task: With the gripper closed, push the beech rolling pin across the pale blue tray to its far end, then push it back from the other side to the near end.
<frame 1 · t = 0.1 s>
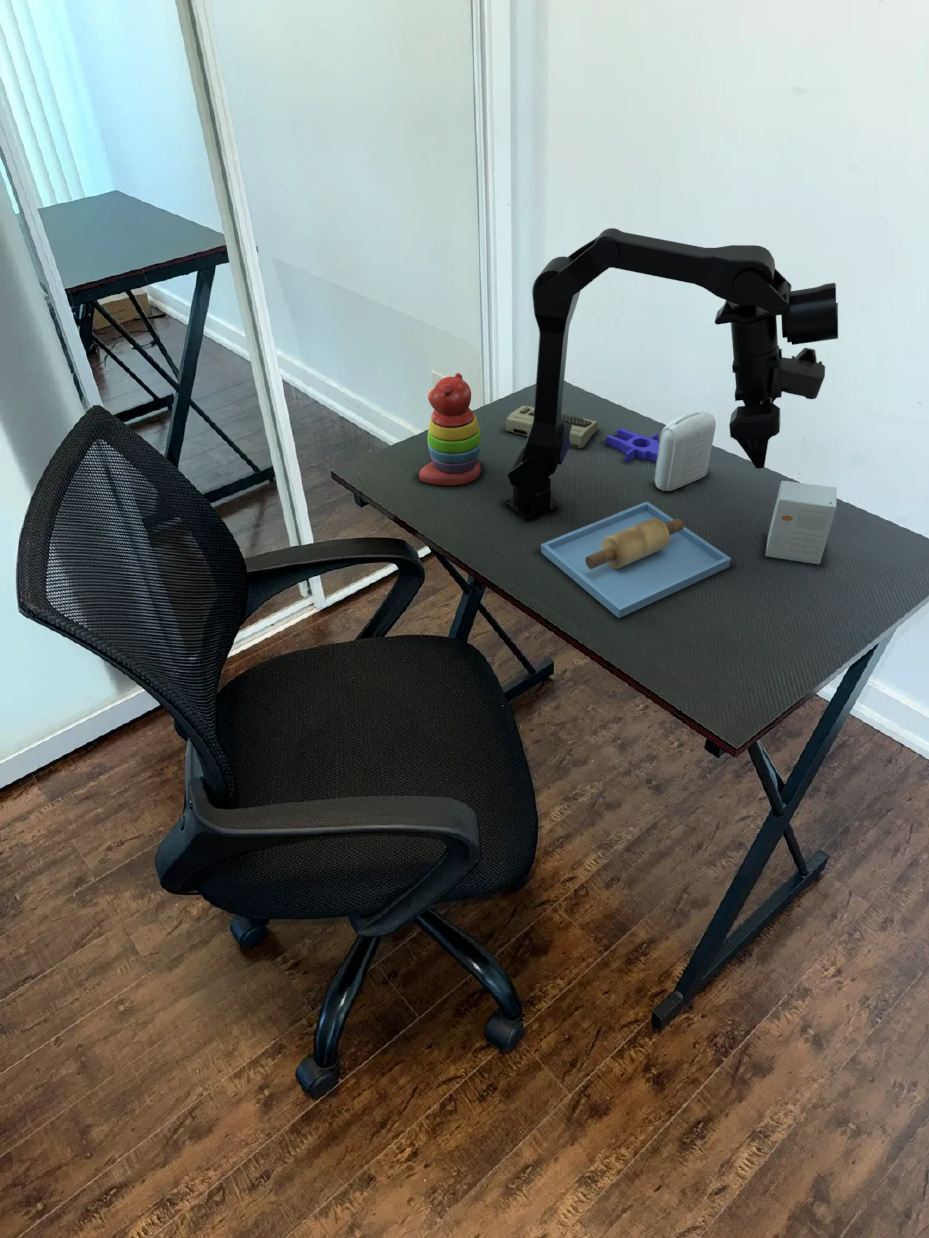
hand: (762, 452, 120), 15 cm above the table, tool pointing down, fingers open, 9 cm apart
small box: (792, 552, 127), on the table
rolling pin: (635, 543, 125), point 3 cm above the table, slide at 0.0 cm
photo printer: (680, 481, 144), on the table
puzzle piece: (639, 451, 152), on the table
computer: (551, 432, 158), on the table
stacking bear: (454, 473, 148), on the table
tray: (633, 559, 127), on the table
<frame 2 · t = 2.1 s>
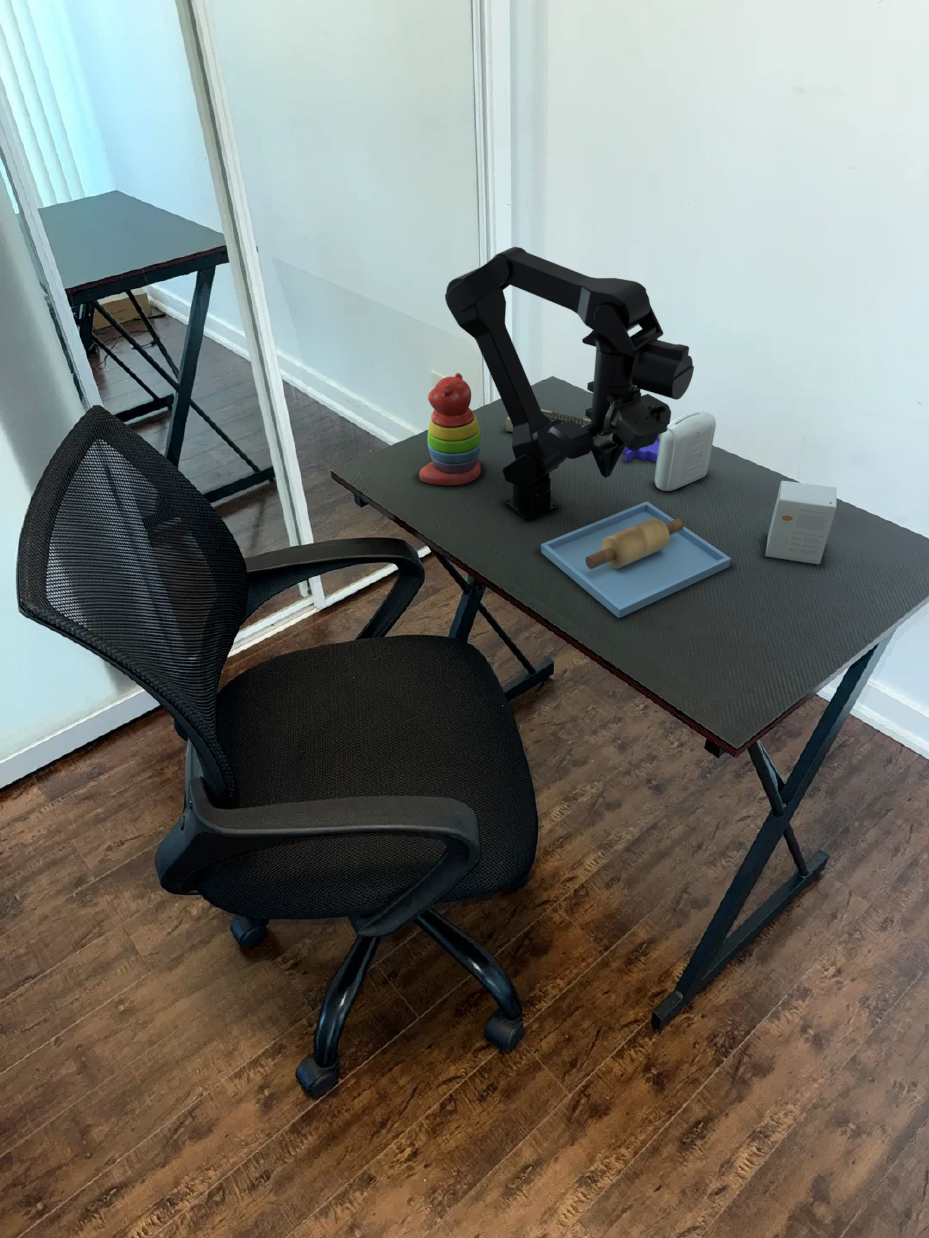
hand: (605, 476, 125), 11 cm above the table, tool pointing down, fingers closed
nothing on the table moved.
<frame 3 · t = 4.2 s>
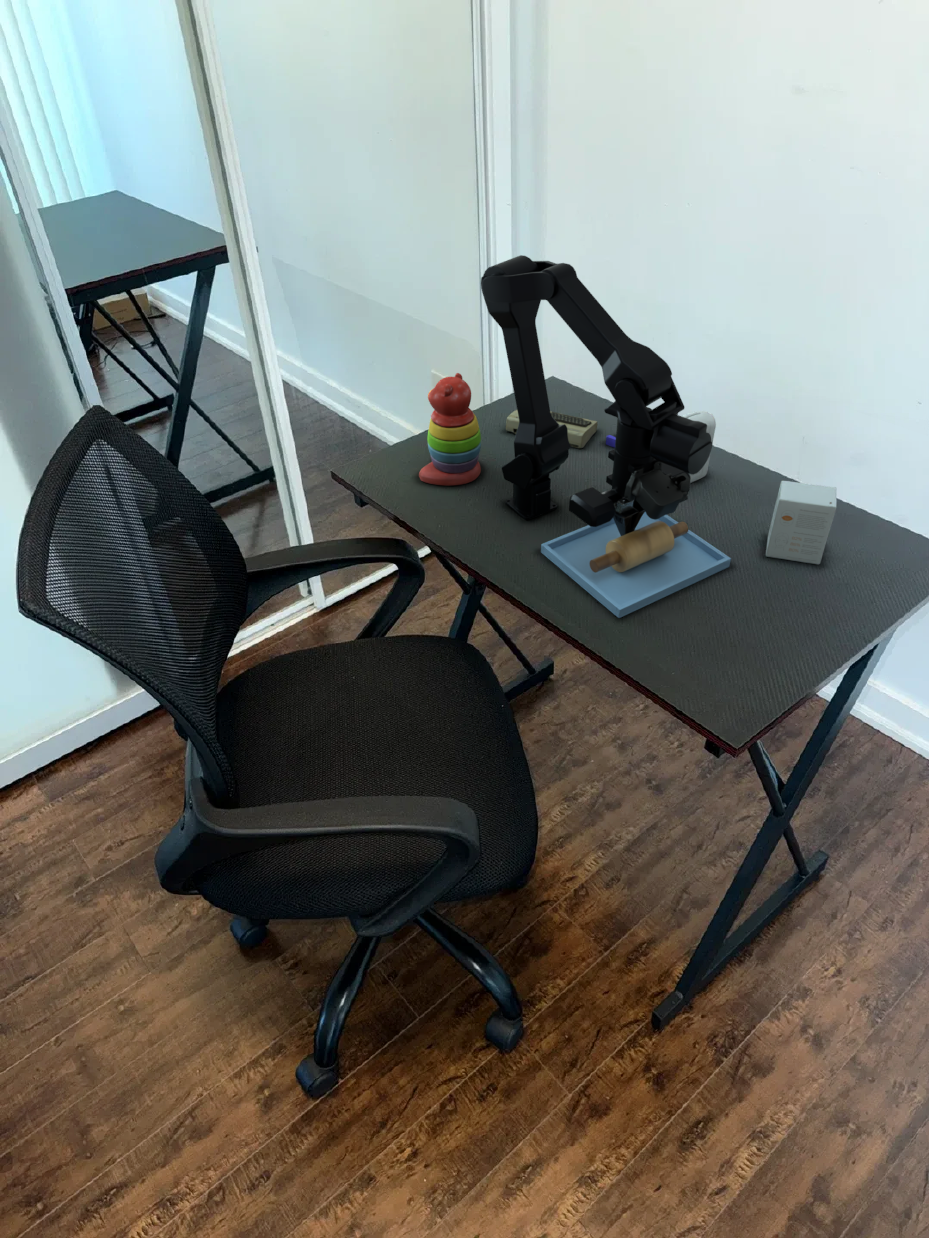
hand: (625, 538, 127), 3 cm above the table, tool pointing down, fingers closed, pressing on rolling pin
rolling pin: (639, 546, 124), point 3 cm above the table, slide at 1.0 cm, touching gripper
everything else where it was.
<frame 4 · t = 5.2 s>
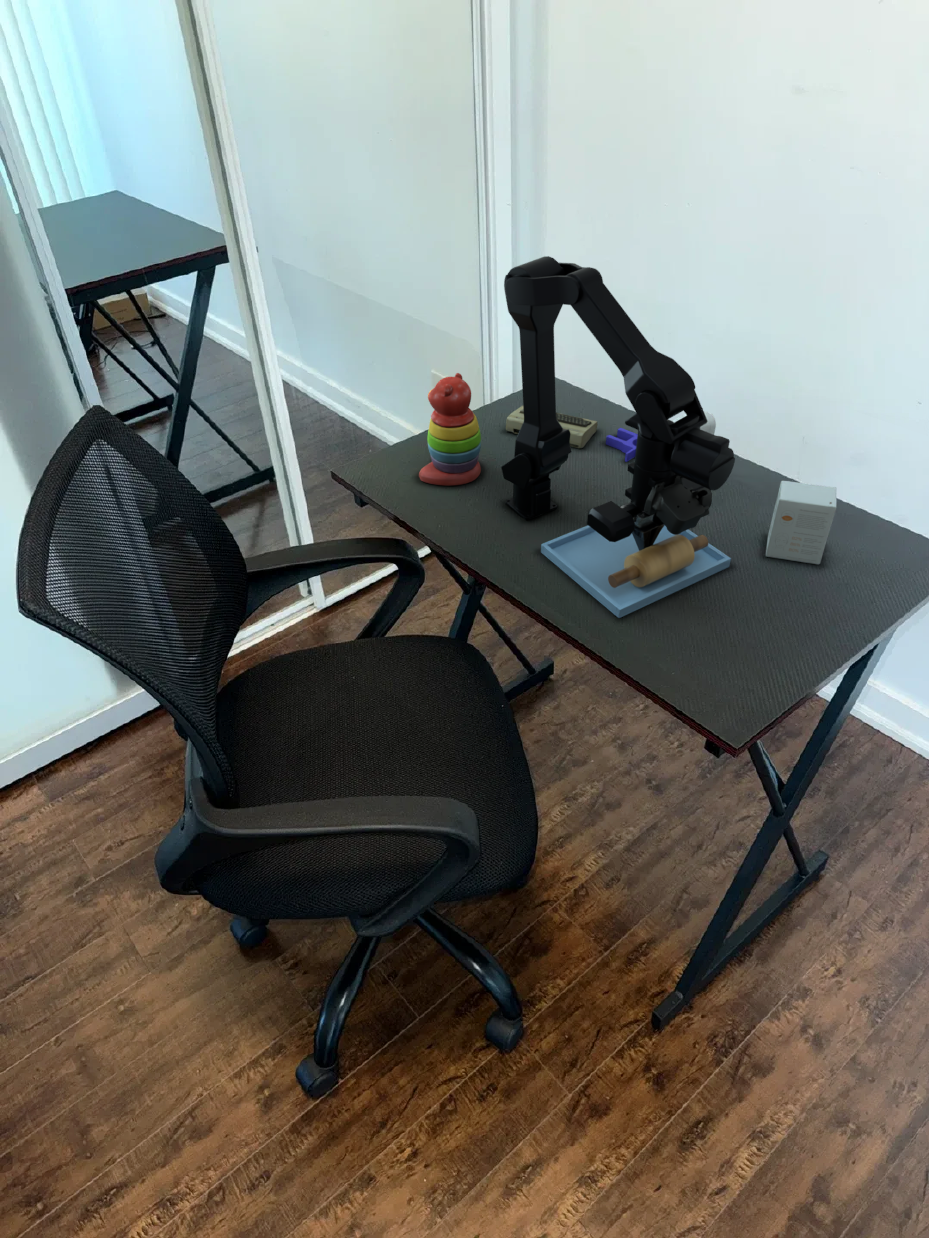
hand: (643, 552, 124), 2 cm above the table, tool pointing down, fingers closed, pressing on rolling pin
rolling pin: (659, 560, 121), point 3 cm above the table, slide at 5.3 cm, touching gripper
everything else where it was.
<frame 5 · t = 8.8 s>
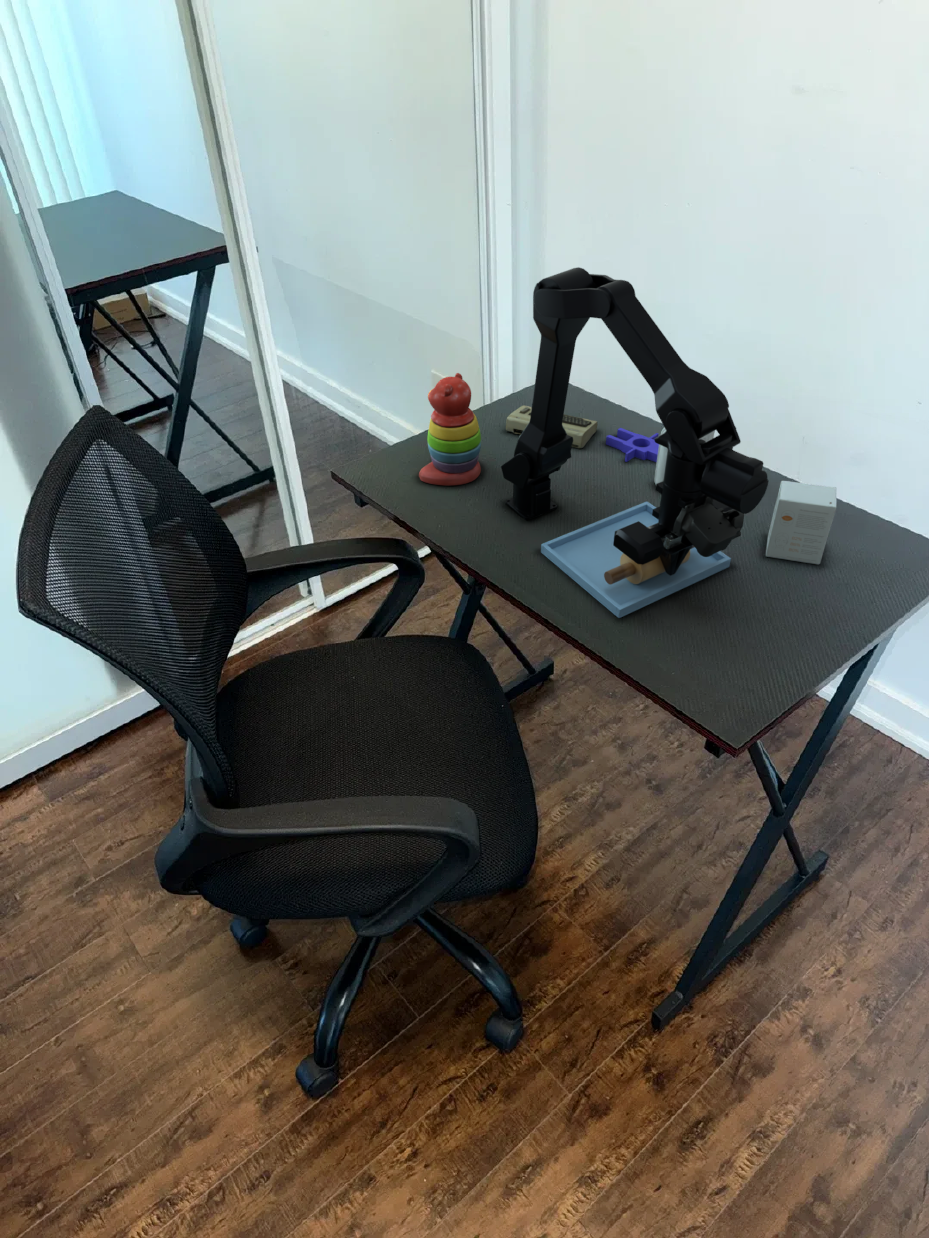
hand: (670, 573, 120), 2 cm above the table, tool pointing down, fingers closed, pressing on rolling pin
rolling pin: (655, 557, 122), point 3 cm above the table, slide at 4.4 cm, touching gripper
everything else where it was.
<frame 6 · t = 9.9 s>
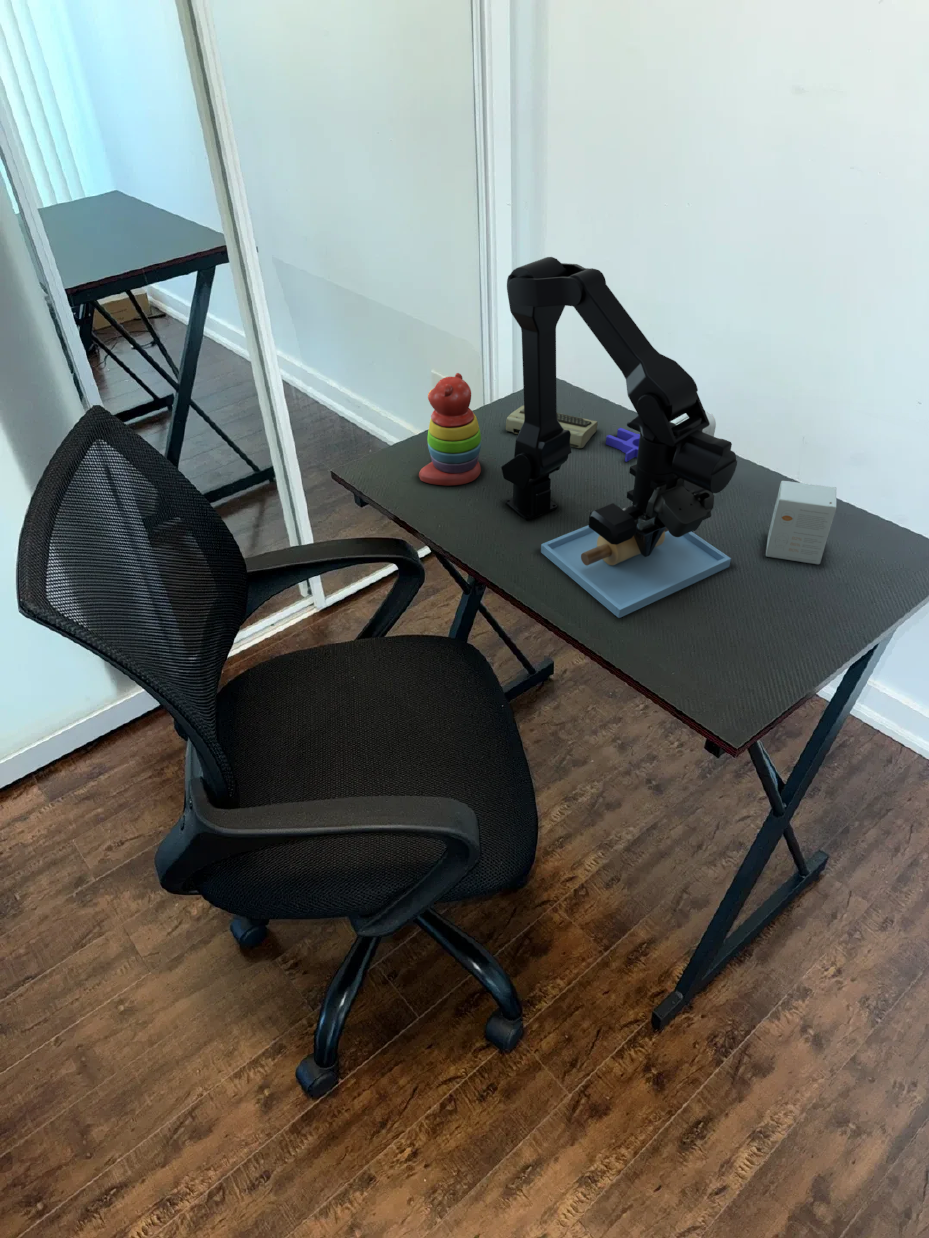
hand: (645, 555, 124), 2 cm above the table, tool pointing down, fingers closed, pressing on rolling pin
rolling pin: (630, 539, 125), point 3 cm above the table, slide at -1.1 cm, touching gripper
everything else where it was.
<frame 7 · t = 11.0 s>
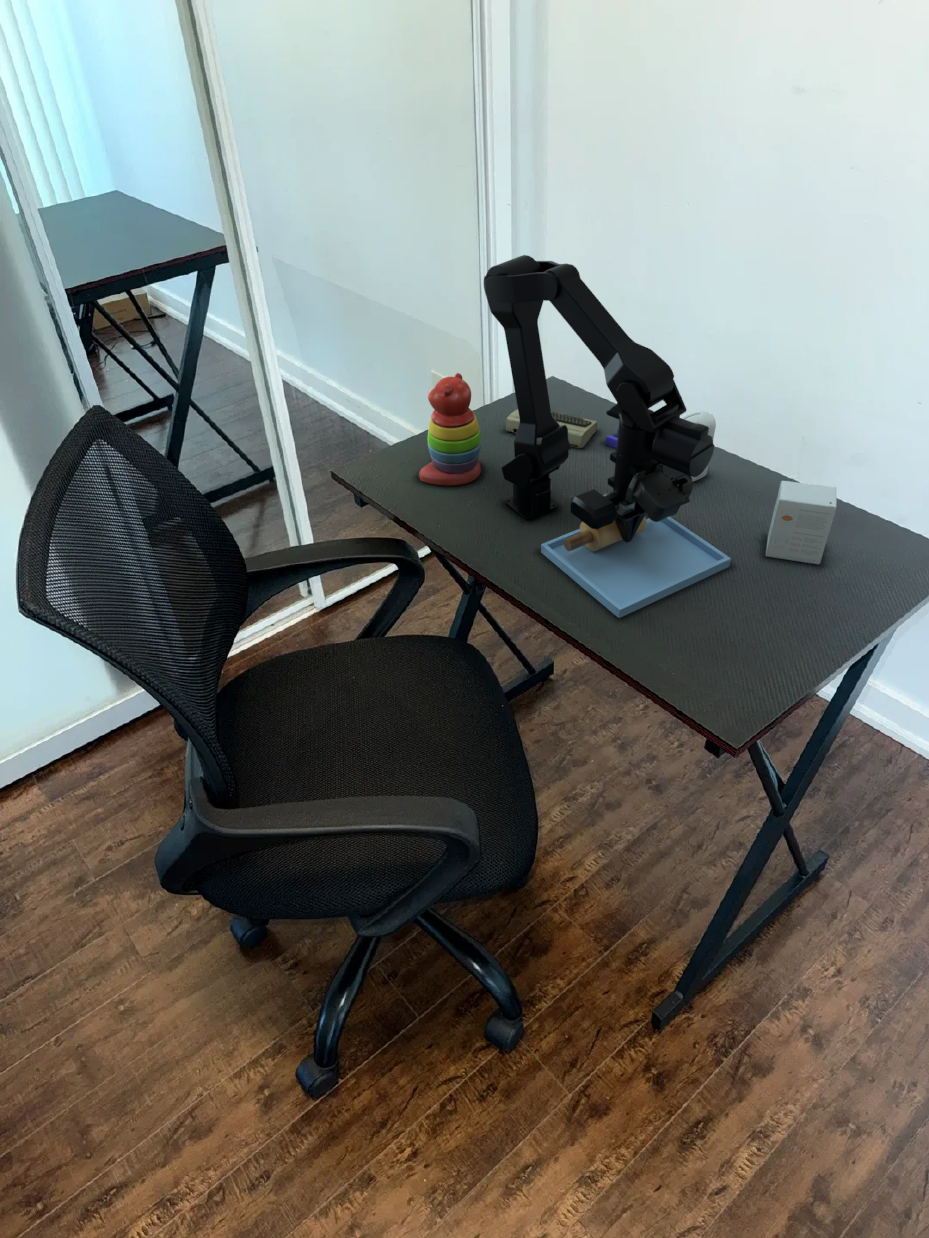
hand: (626, 540, 127), 2 cm above the table, tool pointing down, fingers closed, pressing on rolling pin
rolling pin: (612, 526, 128), point 3 cm above the table, slide at -5.4 cm, touching gripper
everything else where it was.
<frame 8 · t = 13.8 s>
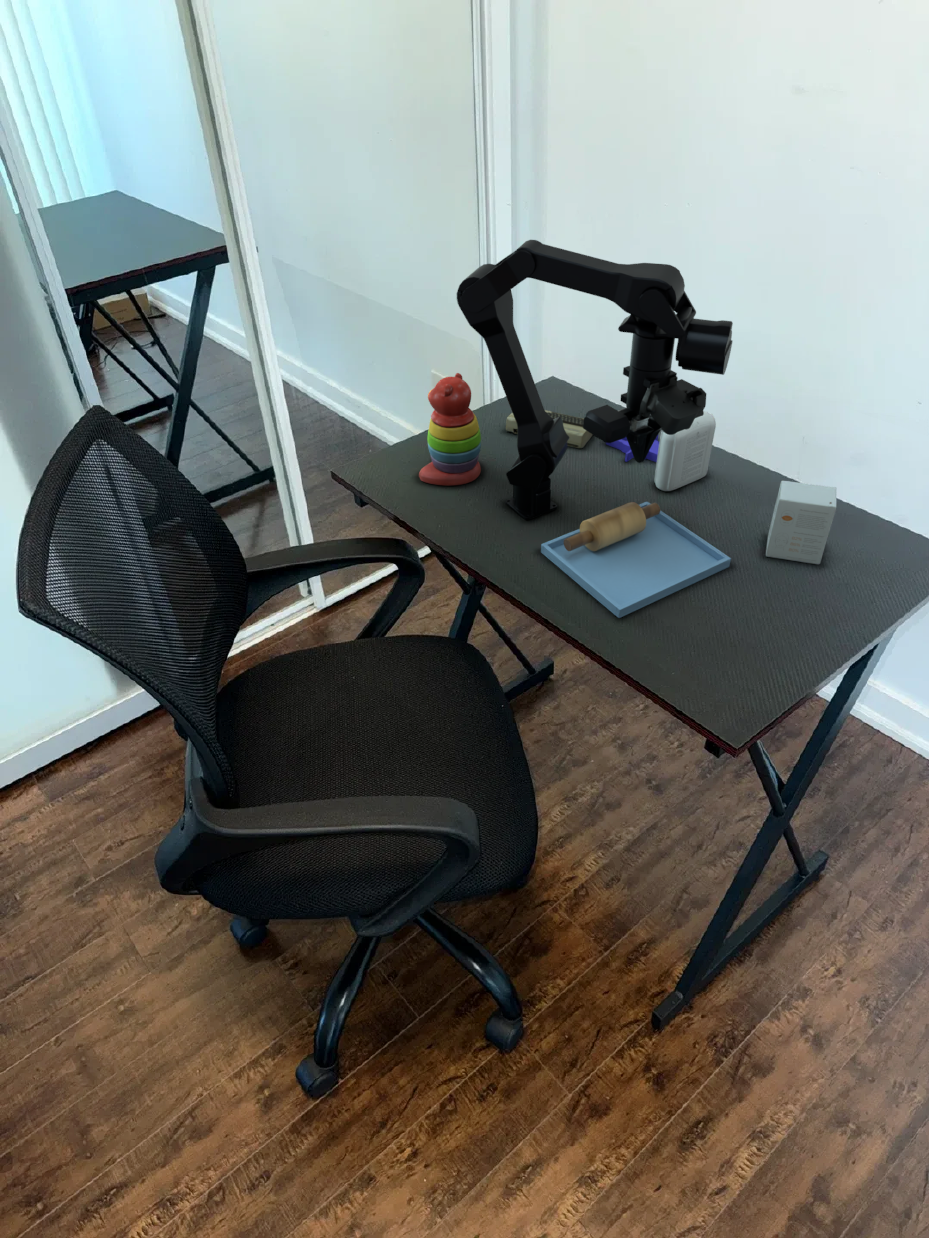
hand: (639, 461, 126), 12 cm above the table, tool pointing down, fingers closed
rolling pin: (612, 526, 128), point 3 cm above the table, slide at -5.4 cm
everything else where it was.
at the end: rolling pin pulled out 5.4 cm at the most during the clip, back to 5.4 cm at the end; rolling pin slide at -5.4 cm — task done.
